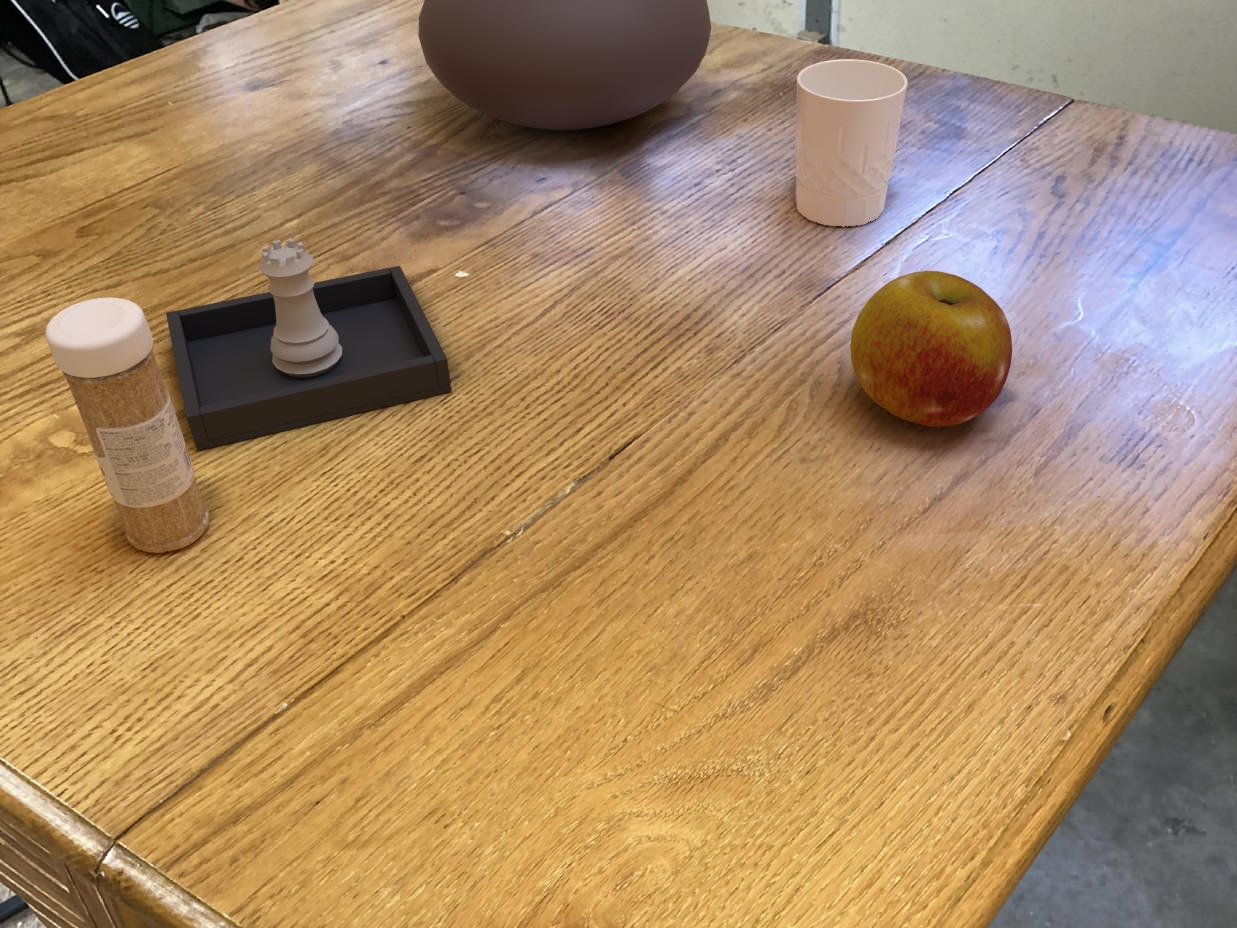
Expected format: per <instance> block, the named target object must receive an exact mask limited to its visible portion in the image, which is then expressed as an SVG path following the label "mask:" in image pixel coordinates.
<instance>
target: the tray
mask: <svg viewBox="0 0 1237 928" xmlns="http://www.w3.org/2000/svg"><path fill="white" fill-rule="evenodd" d="M313 293H314V297H315V299H316V302H317V304H318V307H319V310H320V312H321V314H322V316H323V317H324V318H325V319H326V320H327V321H328V322H329V325H331V326H332V327H333V328H334V330H335V331H336V332H337V334H338V336H339V340H338V343H339V344H340V345H341V347H342V355H341V357H340V359H339V361H338V362H337V363H336V365H335V366H334V367H333V368H332V369H330V370H329V371H327V372H326V373H323V374H320V375H317V376H314V377H305V378H300V377H291V376H289V375H287V374H285V373H283V372H281V371H280V370H278V369H277V368H276V367H275V365H274V364H273V362H272V359H273V353H272V352H271V350H270V348H271V338H272V336H273V335H274V328H275V326H276V310H275V302H274V298H273V295H272V294H271V293H270V292H269V291H266V292H261V293H257V294H252V295H251V294H250V295H247V296H241V297H237V298H233V299H232V298H231V299H226V300H222V301H217V302H212V303H208V304H203V305H198V306H193V307H187V308H182V309H178V310H173V311H167V312H165V316H166V321H167V326H168V331H169V336H170V342H171V346H172V352H173V357H174V362H175V367H176V371H177V376H178V382H179V388H180V392H181V397H182V401H183V407H184V412H185V417H186V420H187V424H188V426H189V430H190V433H191V436H192V440H193V442H194V444H195V448H196V451H197V452H199V451H205V450H207V449H212V448H216V447H221V446H225V445H229V444H230V445H231V444H234V443H237V442H242V441H247V440H250V439H256V438H259V437H264V436H269V435H273V434H276V433H281V432H285V431H290V430H293V429H294V430H295V429H298V428H303V427H306V426H311V425H315V424H319V423H324V422H327V421H332V420H336V419H340V418H345V417H349V416H353V415H358V414H362V413H366V412H367V413H368V412H371V411H376V410H380V409H384V408H388V407H392V406H393V407H394V406H397V405H401V404H405V403H409V402H413V401H418V400H422V399H427V398H430V397H431V398H432V397H435V396H440V395H443V394H449V393H452V391H453V389H452V384H451V383H452V382H451V375H450V370H449V362H448V361H449V360H448V358H447V356H446V353H445V352H444V349H443V347H442V346H441V344H440V342H439V340H438V338H437V336H436V334H435V332H434V330H433V328H432V326H431V324H430V322H429V320H428V318H427V316H426V314H425V312H424V310H423V308H422V306H421V304H420V303H419V302H420V301H418V298H417V297H416V295H415V292H414V290H413V288H412V286H411V284H410V282H409V280H408V278H407V277H406V275H405V273H404V271H403V269H402V266H401V265H396V266H391V267H390V266H389V267H385V268H380V269H375V270H370V271H365V272H361V273H355V274H350V275H346V276H340V277H336V278H335V277H334V278H331V279H326V280H321V281H314V286H313Z"/></svg>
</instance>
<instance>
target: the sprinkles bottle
mask: <svg viewBox="0 0 1237 928" xmlns="http://www.w3.org/2000/svg"><path fill="white" fill-rule="evenodd" d="M45 339H46V342H47V345H48V347H49V350H50V353H51V355H52V358H53V360H54V363H55V365H56V367H57V368H58V369H59V370H60V371H61V373H62V374H63V376H64V377H65V379H66V382H67V384H68V387H69V389H70V392H71V395H72V397H73V399H74V403H75V405H76V407H77V410H78V413H79V415H80V418H81V420H82V424H84V429H85V432H86V434H87V437H88V440H89V442H90V445H91V446H92V451H93V456H94V457H95V460H96V462H97V464H98V467H99V470H100V472H101V475H102V477H103V481H104V482H105V485H106V488H107V490H108V492H109V495H110V497H111V498H112V499H113V501H114V503H115V506H116V509H117V511H118V514H119V517H120V518H121V522H122V524H123V527H124V535H125V537H126V539H127V542H128V543H129V544H130V545H131V546H133V547H134V548H135V549H137V550H139V551H141V550H143V551H142V552H145V551H146V552H145V553H153V552H154V553H155V554H161V553H168V552H173V550H174V551H178V550H180V549H184V548H185V547H187V546H189V545H192V544H193V543H194V542H196V541H197V540H198V539H199V538H200V537H201V536H203V535H204V534H205V532H206V530H207V529H208V527H209V526H210V519H211V516H210V510H209V508H208V506H207V505H206V504H205V502H204V500H203V498H202V494H201V492H200V488H199V485H198V483H197V480H196V477H195V468H194V465H193V462H192V459H191V456H190V453H189V450H188V446H187V444H186V441H185V438H184V436H183V435H184V434H183V432H182V429H181V426H180V423H179V420H178V417H177V415H176V414H177V413H176V411H175V408H174V406H173V405H174V404H173V403H172V400H171V397H170V393H169V391H168V390H167V388H166V386H165V383H164V380H163V379H164V378H163V376H162V374H161V371H160V367H159V365H158V362H157V358H156V356H155V353H154V337H153V335H152V331H151V328H150V326H149V323H148V320H147V318H146V315H145V312H144V311H143V309H142V308H141V307H140V306H139V305H138V304H137V303H135V302H133V301H131V300H129V299H125V298H121V297H98V298H91V299H88V300H87V299H86V300H82V301H80V302H78V303H74V304H72V305H70V306H68V307H66V308H64V309H62V310H61V311H59V312H57V313H56V314H55V315H54V316H53V317H52V318H51V319H50V320H49V322H48V323H47V325H46V327H45ZM167 551H168V552H167Z"/></svg>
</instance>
